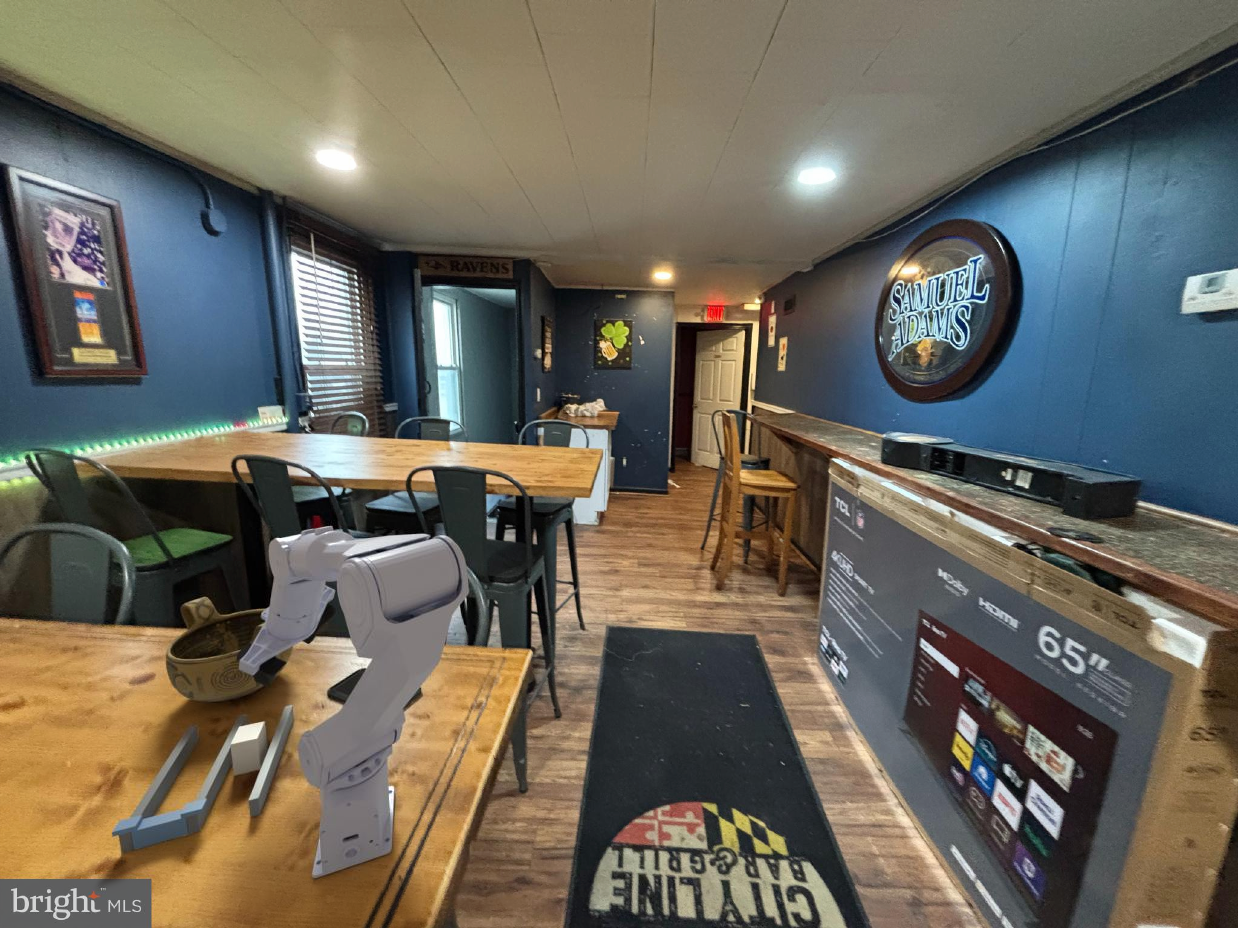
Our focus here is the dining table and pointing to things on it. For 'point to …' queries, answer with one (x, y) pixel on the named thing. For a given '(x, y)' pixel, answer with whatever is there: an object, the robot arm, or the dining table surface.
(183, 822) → the metal rails
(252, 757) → the cream rectangular box
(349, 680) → the black tray
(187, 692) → the ceramic bowl
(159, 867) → the dining table surface
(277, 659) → the robot arm
